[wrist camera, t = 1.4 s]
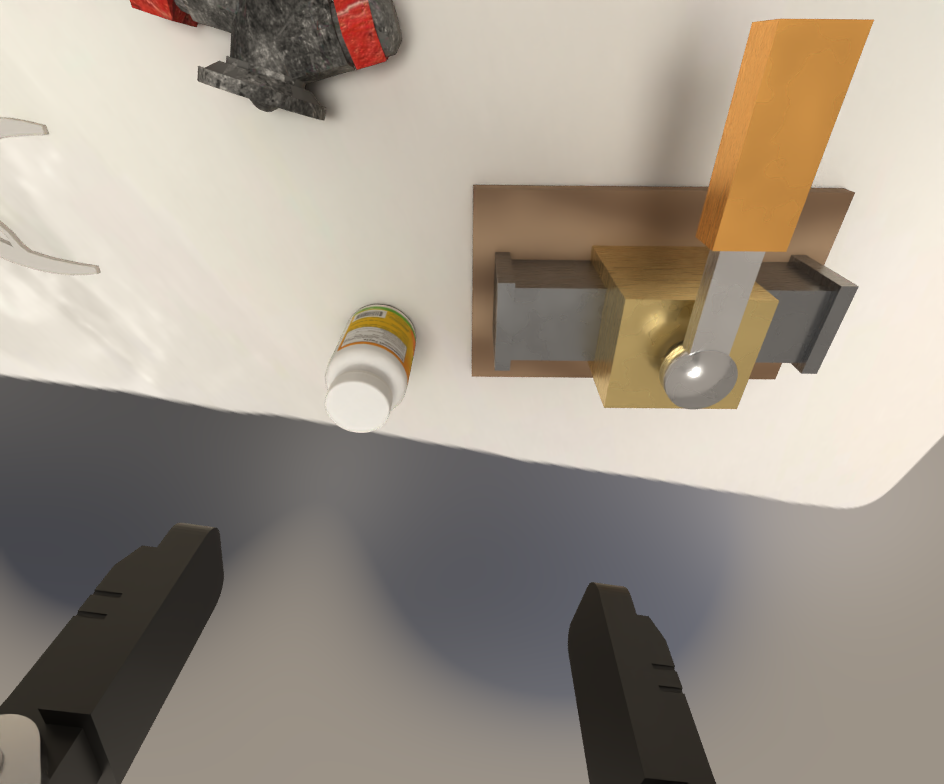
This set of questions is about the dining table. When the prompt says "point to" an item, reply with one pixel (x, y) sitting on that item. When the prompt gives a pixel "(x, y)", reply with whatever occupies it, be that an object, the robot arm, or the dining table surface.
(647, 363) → the valve and pipe
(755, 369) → the walnut board
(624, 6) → the dining table surface
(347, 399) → the supplement bottle
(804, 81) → the valve lever
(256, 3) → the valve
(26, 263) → the pliers
